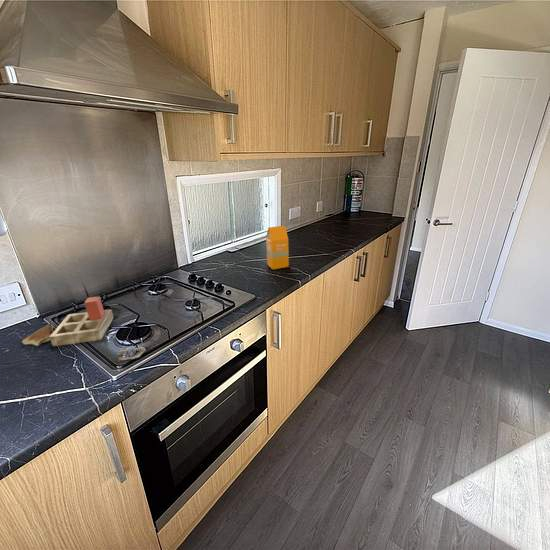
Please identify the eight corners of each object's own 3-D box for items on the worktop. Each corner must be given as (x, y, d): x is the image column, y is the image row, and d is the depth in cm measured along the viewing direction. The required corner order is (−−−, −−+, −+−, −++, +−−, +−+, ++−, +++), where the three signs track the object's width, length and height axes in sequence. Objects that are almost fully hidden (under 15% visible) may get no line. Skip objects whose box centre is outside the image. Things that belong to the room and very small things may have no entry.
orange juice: (288, 266, 146) (288, 227, 138) (272, 269, 143) (271, 229, 135) (282, 261, 152) (282, 223, 144) (266, 264, 149) (265, 225, 142)
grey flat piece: (113, 354, 86) (112, 348, 85) (142, 343, 90) (140, 338, 90) (119, 366, 81) (118, 360, 80) (149, 353, 86) (147, 348, 85)
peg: (92, 328, 99) (84, 302, 95) (96, 322, 102) (87, 297, 98) (104, 327, 100) (96, 301, 96) (107, 321, 103) (99, 296, 99)
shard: (52, 325, 101) (50, 321, 101) (71, 327, 100) (69, 322, 99) (22, 344, 92) (20, 339, 91) (42, 346, 90) (40, 341, 89)
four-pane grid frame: (52, 346, 90) (49, 337, 89) (71, 322, 103) (68, 314, 101) (101, 339, 93) (98, 330, 91) (113, 317, 105) (111, 309, 104)
